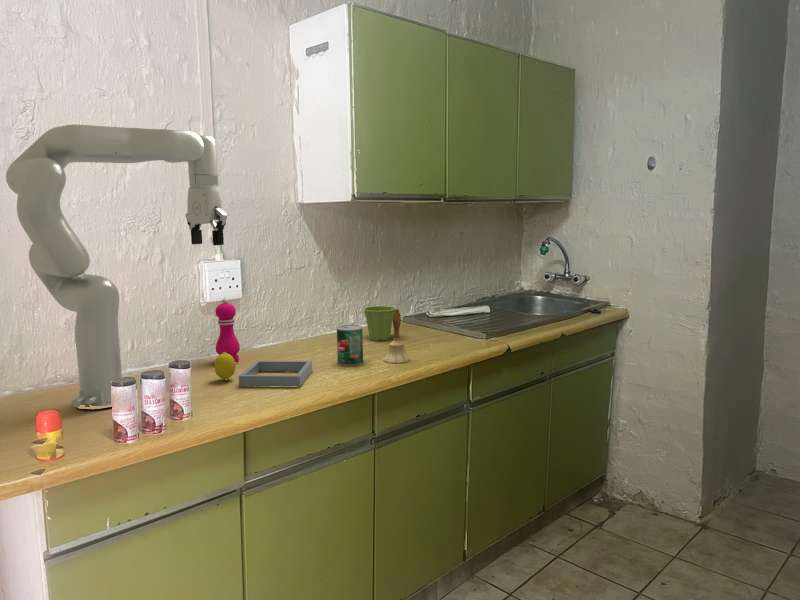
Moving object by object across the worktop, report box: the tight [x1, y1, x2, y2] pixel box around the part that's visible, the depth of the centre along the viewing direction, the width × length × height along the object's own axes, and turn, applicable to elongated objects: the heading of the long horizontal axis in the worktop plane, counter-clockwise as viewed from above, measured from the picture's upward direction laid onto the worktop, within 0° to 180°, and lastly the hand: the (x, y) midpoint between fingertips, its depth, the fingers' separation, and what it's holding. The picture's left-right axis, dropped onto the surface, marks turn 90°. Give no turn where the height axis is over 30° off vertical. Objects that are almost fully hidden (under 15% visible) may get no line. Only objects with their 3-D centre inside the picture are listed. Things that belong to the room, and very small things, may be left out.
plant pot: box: [362, 305, 397, 342], centre depth 219 cm, size 12×12×11 cm
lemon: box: [214, 352, 236, 380], centre depth 169 cm, size 6×6×8 cm
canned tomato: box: [336, 324, 364, 367], centre depth 187 cm, size 8×8×11 cm
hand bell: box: [383, 308, 411, 364], centre depth 189 cm, size 8×8×16 cm
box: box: [238, 360, 313, 387], centre depth 171 cm, size 16×16×3 cm
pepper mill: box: [215, 297, 241, 363], centre depth 189 cm, size 7×7×20 cm
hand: (207, 244), depth 172 cm, fingers open, 9 cm apart
